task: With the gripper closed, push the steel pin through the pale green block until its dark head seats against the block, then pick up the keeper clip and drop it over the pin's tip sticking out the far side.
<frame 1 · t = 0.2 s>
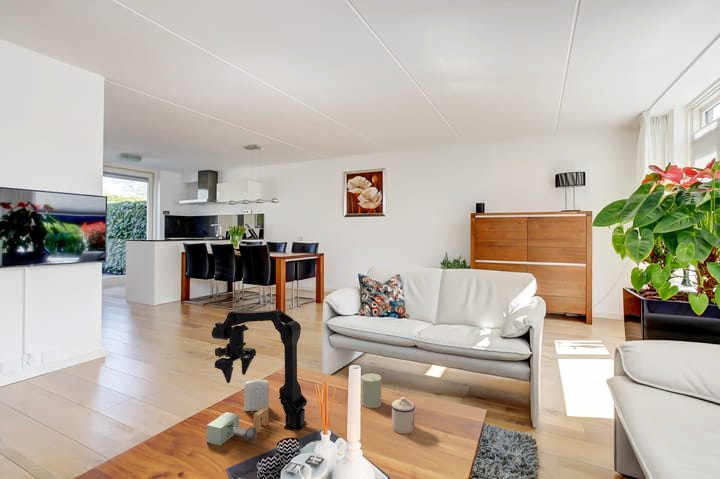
hand: (236, 378, 143), 14 cm above the table, tool pointing down, fingers open, 9 cm apart
can: (370, 403, 154), on the table
teacup with lid: (402, 426, 135), on the table
keeper clip: (261, 427, 133), on the table
pin: (237, 431, 125), point 3 cm above the table, slide at 0.0 cm
photo printer: (256, 409, 148), on the table
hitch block: (223, 436, 127), on the table
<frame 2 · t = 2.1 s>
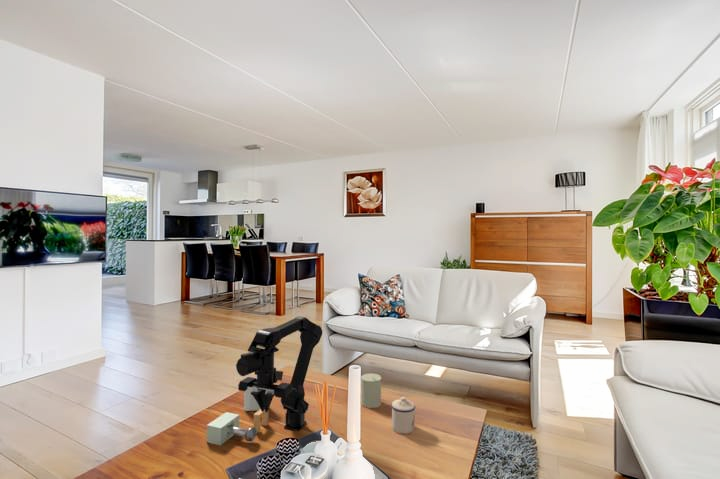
hand: (264, 411, 121), 12 cm above the table, tool pointing down, fingers closed
nothing on the table moved.
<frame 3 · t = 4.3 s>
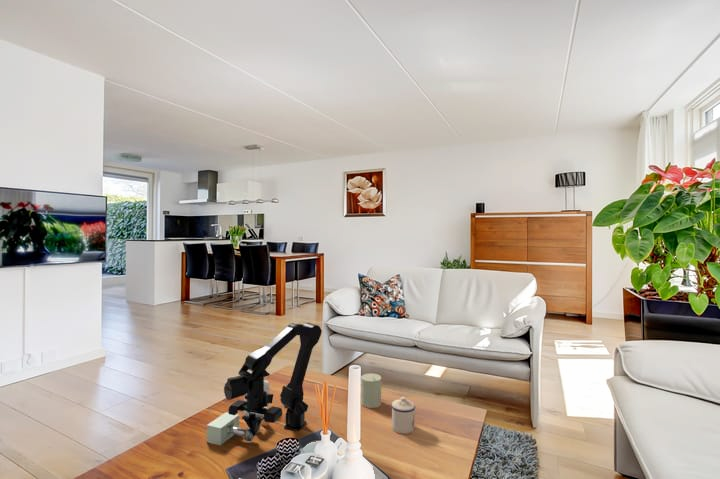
hand: (254, 435, 122), 3 cm above the table, tool pointing down, fingers closed
pin: (237, 431, 125), point 3 cm above the table, slide at 0.4 cm, touching gripper
everything else where it was.
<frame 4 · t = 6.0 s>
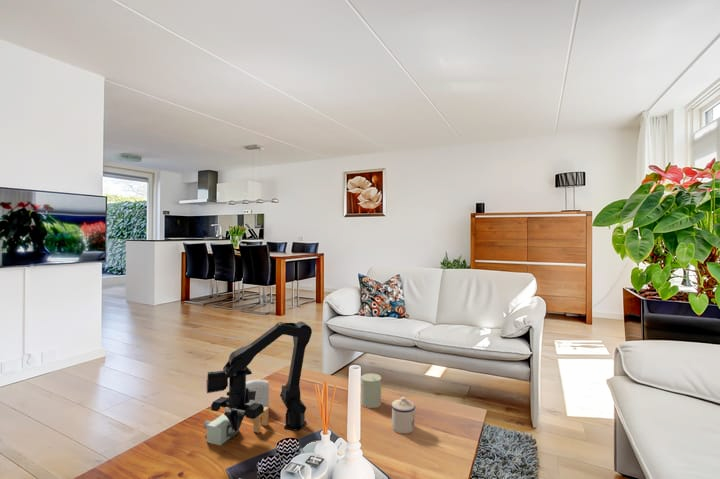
hand: (237, 431, 125), 3 cm above the table, tool pointing down, fingers closed
pin: (219, 427, 127), point 3 cm above the table, slide at 8.0 cm, touching gripper
everything else where it was.
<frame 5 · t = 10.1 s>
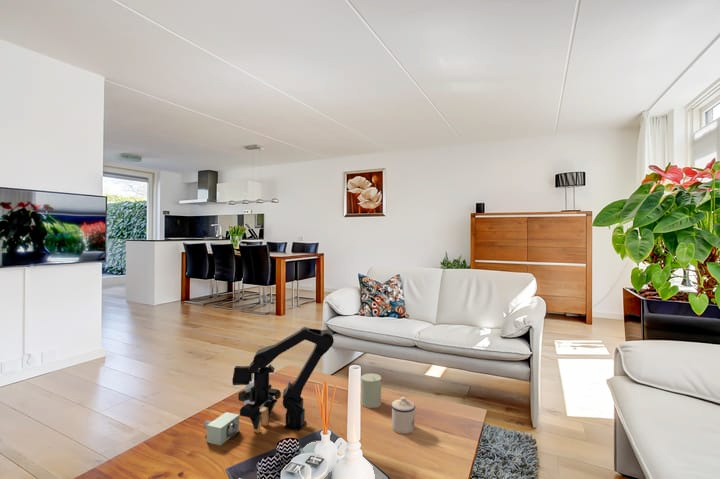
hand: (261, 424, 133), 1 cm above the table, tool pointing down, fingers closed on keeper clip, 6 cm apart
keeper clip: (261, 427, 133), on the table, touching gripper
pin: (219, 427, 127), point 3 cm above the table, slide at 8.0 cm
everything else where it was.
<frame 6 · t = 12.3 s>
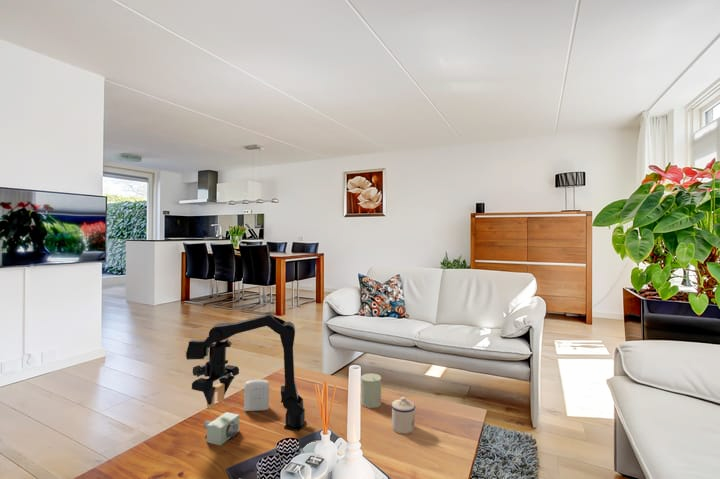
hand: (215, 400, 129), 12 cm above the table, tool pointing down, fingers closed on keeper clip, 6 cm apart
keeper clip: (215, 403, 129), point 11 cm above the table, touching gripper
everything else where it was.
when the fingers open (3 cm above the table, at t = 14.6 s): keeper clip drops 2 cm, on the table.
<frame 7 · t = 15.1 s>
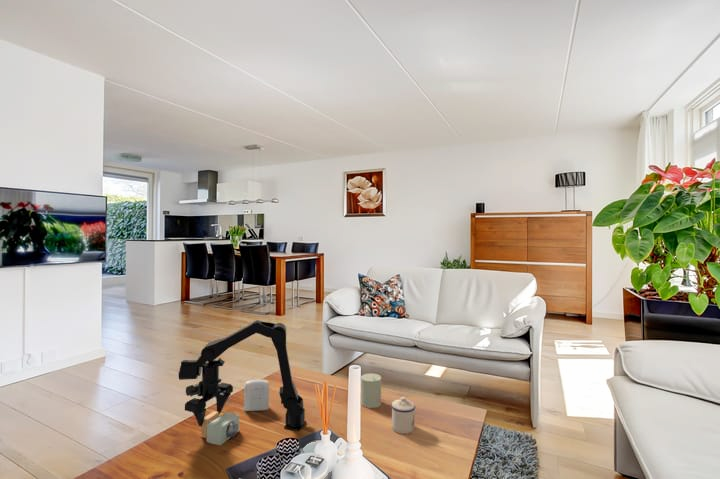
hand: (209, 419, 129), 5 cm above the table, tool pointing down, fingers open, 9 cm apart
keeper clip: (210, 433, 129), on the table
everything else where it was.
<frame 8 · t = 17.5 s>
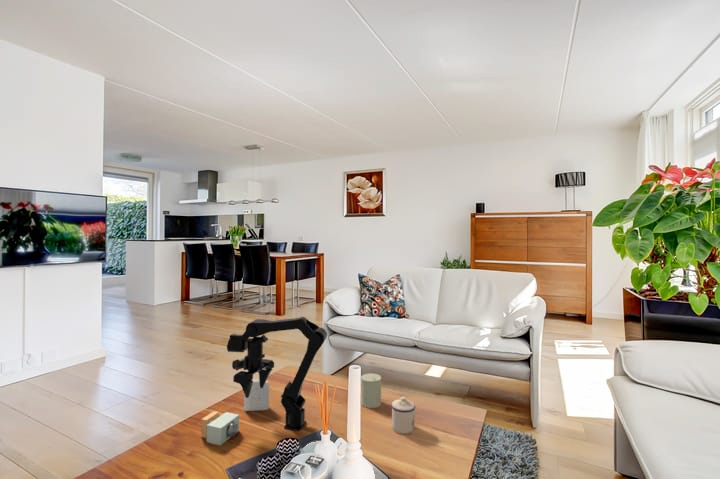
hand: (254, 392, 136), 12 cm above the table, tool pointing down, fingers open, 9 cm apart
nothing on the table moved.
at the end: pin slide at 8.0 cm; keeper clip 0.3 cm from the target spot, on the table; keeper clip tilted 0° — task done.
